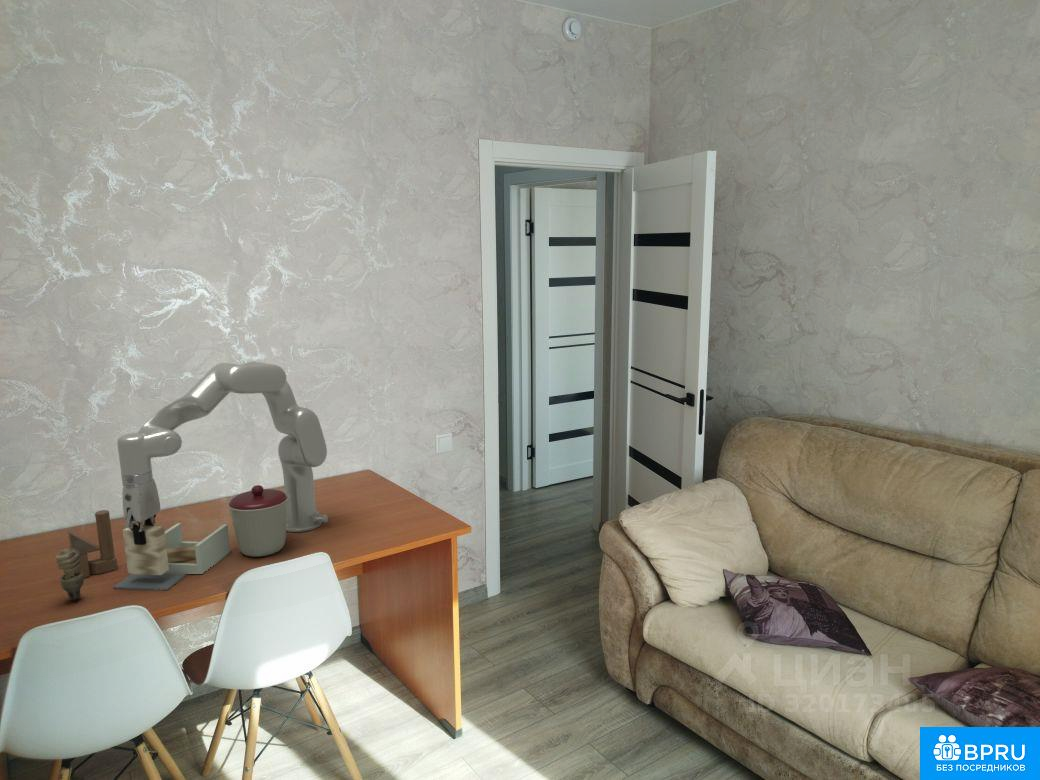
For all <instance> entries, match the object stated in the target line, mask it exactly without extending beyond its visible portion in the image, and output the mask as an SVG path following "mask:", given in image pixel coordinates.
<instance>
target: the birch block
mask: <svg viewBox="0 0 1040 780" xmlns="http://www.w3.org/2000/svg"><path fill="white" fill-rule="evenodd" d="M143 531H145V537H146V544H145V545H135V544H134V537H133V532H132V531H131V529H129V528H126V527H124V529H122V536H123V537H122V538H123V542H124V543H123V544H124V552H125V560H126V566H127V574H128V575H131V574H146V575H162V574H164V573H165V572H166V571H168V570H169V566H168V557H167V549H166V540H165V531H166V530H165V526H164V525H154V526H143Z"/></svg>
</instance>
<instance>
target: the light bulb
mask: <svg viewBox="0 0 1040 780" xmlns="http://www.w3.org/2000/svg"><path fill="white" fill-rule="evenodd" d="M79 555H80V551H79V550H78V549H75V548H70V547H67V548H61V549H60V554H57V555H56V556H55V560H56V564H57V569H58V570H60V571H61V570H63V575H62V576H61V577H60V578H59V580H60V585H61V588H62V590H64V591H65V592H66V593H67V597H68V599H69V601H73V602H77V601H79V600H80V598H81V596H82V594H81V588H82V587H83V585H84V581H85V580H84V578H83V574H82V573H81V572H77V568H78V567H79V566H80V564H81V563H80V556H79Z"/></svg>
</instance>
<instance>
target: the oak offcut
mask: <svg viewBox="0 0 1040 780" xmlns="http://www.w3.org/2000/svg"><path fill="white" fill-rule="evenodd" d="M167 557H168V563H170V562H179V561H187V560H196V553H195V546H190V547H181V548H172V549H167Z"/></svg>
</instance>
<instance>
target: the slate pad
mask: <svg viewBox="0 0 1040 780" xmlns="http://www.w3.org/2000/svg"><path fill="white" fill-rule="evenodd" d="M185 576H187V575H185V574H162V575H146V574H129V575H128V576H127V577H126V578H124V579H122V580H121V581H120V582H117V584H115V585H114V586H113V587H112V588H113V590H136V591H160V589H162V590H168V589H169V588H170V587H172V586H173V585H174V584H176V583H177V582H178V581H179V582H181V581H182V580H183V579H184V578H185ZM181 579H182V580H181ZM180 580H181V581H180ZM179 582H178V583H179ZM178 583H177V584H178ZM177 584H176V585H177ZM174 586H175V585H174ZM174 586H173V587H174ZM173 587H172V588H173ZM145 589H146V590H145ZM155 589H157V590H155ZM170 589H171V588H170ZM170 589H169V590H170ZM169 590H168V591H169Z"/></svg>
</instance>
